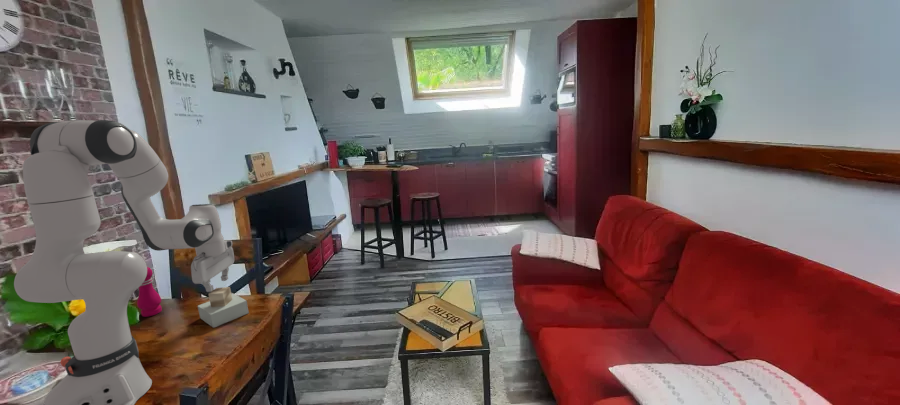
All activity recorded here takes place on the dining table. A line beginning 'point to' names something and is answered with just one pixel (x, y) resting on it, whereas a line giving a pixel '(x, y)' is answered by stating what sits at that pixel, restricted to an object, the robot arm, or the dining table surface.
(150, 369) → the dining table surface
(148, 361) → the dining table surface
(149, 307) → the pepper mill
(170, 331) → the dining table surface
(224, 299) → the birch cube
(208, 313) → the base block
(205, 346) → the dining table surface
